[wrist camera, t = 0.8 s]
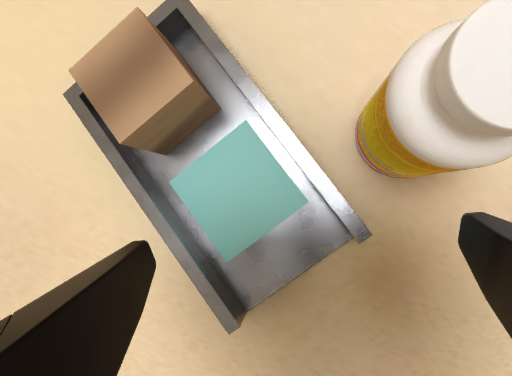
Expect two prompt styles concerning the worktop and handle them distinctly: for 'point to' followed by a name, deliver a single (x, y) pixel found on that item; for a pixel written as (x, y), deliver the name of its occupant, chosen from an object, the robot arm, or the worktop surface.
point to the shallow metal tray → (229, 182)
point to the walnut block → (143, 87)
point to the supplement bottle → (445, 100)
